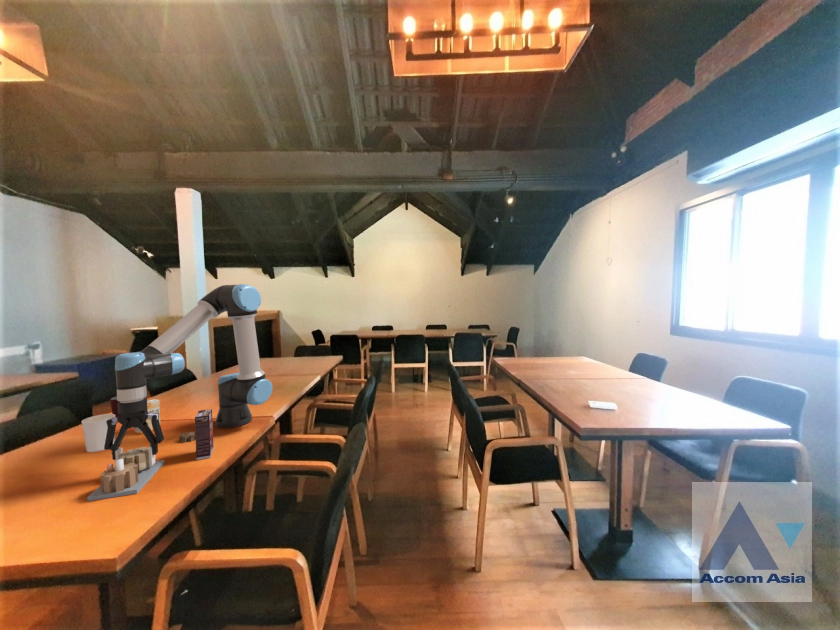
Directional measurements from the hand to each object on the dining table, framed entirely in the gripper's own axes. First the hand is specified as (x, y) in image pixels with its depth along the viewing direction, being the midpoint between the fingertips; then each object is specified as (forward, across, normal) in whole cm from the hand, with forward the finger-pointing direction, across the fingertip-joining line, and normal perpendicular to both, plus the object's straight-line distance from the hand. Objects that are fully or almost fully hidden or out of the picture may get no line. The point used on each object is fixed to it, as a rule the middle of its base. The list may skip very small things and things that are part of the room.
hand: (136, 466), depth 114 cm
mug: (+3, +31, -66) cm, 73 cm away
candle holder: (+3, +24, -30) cm, 38 cm away
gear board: (+3, 0, +4) cm, 5 cm away
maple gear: (0, 0, 0) cm, 0 cm away
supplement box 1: (+3, +14, -44) cm, 47 cm away
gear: (+3, -7, -26) cm, 28 cm away
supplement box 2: (+3, -18, -8) cm, 20 cm away
